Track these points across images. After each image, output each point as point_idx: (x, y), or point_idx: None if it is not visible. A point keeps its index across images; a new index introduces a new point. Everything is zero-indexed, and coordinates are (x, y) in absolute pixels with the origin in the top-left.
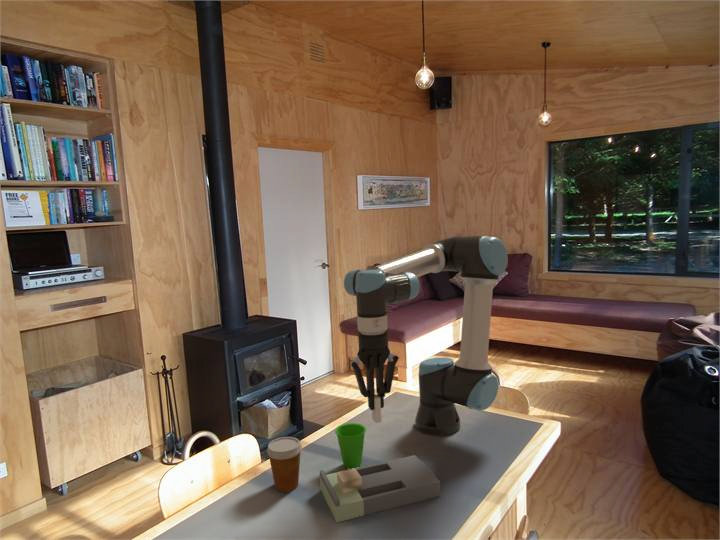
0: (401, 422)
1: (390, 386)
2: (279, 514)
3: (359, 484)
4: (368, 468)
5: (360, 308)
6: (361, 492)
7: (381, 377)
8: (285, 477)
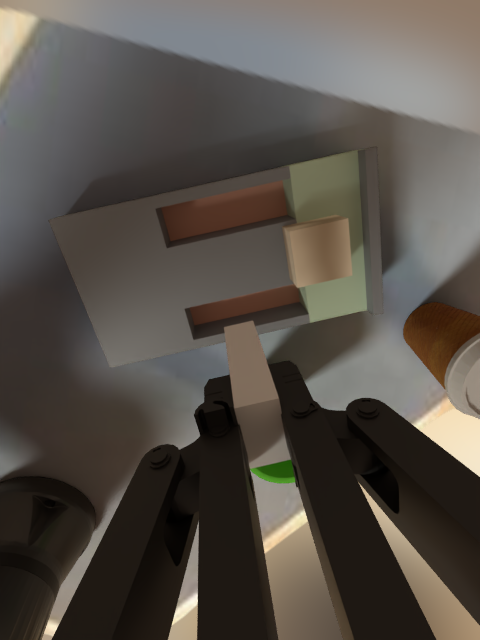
0: None
1: (131, 496)
2: (469, 215)
3: (291, 227)
4: None
5: None
6: (283, 220)
7: (226, 594)
8: (460, 312)
